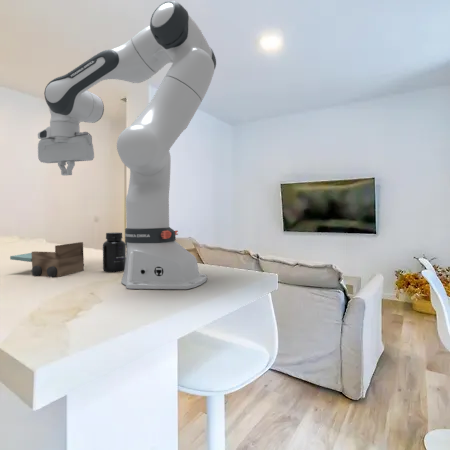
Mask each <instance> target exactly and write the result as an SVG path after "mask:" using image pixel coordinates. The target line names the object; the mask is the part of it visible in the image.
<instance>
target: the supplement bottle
mask: <svg viewBox="0 0 450 450" xmlns="http://www.w3.org/2000/svg"><path fill="white" fill-rule="evenodd" d="M105 239H106V241H104V242H103V243H102V270H103V272H105V273H121V272H124V269H125V261H126V249H127V248H126V244H125V240H122V239H123V232H106V233H105Z"/></svg>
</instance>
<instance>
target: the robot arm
mask: <svg viewBox="0 0 450 450" xmlns="http://www.w3.org/2000/svg"><path fill="white" fill-rule="evenodd" d="M170 63H172V64H171V66H170V67H169V69H168V71H167V72H166V74H165V76H164V78H163V80H162V81H161V82H160V84H159V86H158V88H157V90H156V91H155V93H154V95H153V97H152V99H151V100H150V102H149V103H148V104H147V106H146V107H145V108H144V109H143V111H142V112H141V113H140V114H139V116H137V118H135V120H134V121H133V122H132V123H131V125H130V126H128V127H125V128H124V129H123V130H122V131H121V132H120V133H119V136H118V138H117V142H116V150H117V154H118V156H119V159H120V160H121V162H122V163H123V165H124V166H125V167H126V168H128V169H129V171H130V172H129V173H130V175H129V184H128V190H127V194H126V197H125V208H126V210H125V213H126V215H125V216H126V219H125V220H126V221H125V222H126V228H125V229H124V242H125V244H126V261H125V269H124V271H123V273H122V278H121V281H120V282H121V284H122V285H125V287H126V289H135V290H138V289H139V290H144V289H145V290H146V289H147V290H189V289H194V288H196V287H199V286H201V285H203V284H204V283H206V281H207V280H208V276H207V274H205V273H200V271H199V264H198V259H197V258H196V256H195V255H194V254H192V253H191V252H190V251H189V250H187V249H186V248H185V247H183V246H182V244H180V243H179V242H178V241H176V236H178V235H179V231H178V230H174V229H173V228H172V227H170V207H169V206H170V200H169V199H170V187H171V185H170V184H171V157H172V156H171V153H170V150H171V148H172V147H173V145H174V144H175V142H176V140H178V138H180V136H181V134H182V133H183V132H185V130H186V129H187V128H188V126H189V125H190V122H191V121H192V120H193V118H194V116H195V114H196V112H197V110H198V109H199V107H200V105H201V103H202V102H203V100H204V98H205V96H206V94H207V92H208V90H209V88H210V84H211V82H212V79H213V77H214V73H215V70H216V67H217V58H216V56H215V53H214V50H213V48H211V46H210V45H209V42H208V41H207V40H206V38H205V36H204V34H203V32H202V30H201V29H200V27H199V26H198V24H197V23H196V22H195V20H193V18H192V17H191V16H190V15H189V13H188V10H187V9H186V7H185V8H184V6H183V5H182V4H181V3H179V2H178V1H176V0H169V1H168V0H167V1H164V2H162V3H161V4H159V5H158V6H157V8H156V9H155V10H154V12H153V13H152V15H151V17H150V22H149V25H147V26H146V27H144V28H142V29H141V30H140V31H139V32H137V33H136V34H134V35H133V36H132V37H131V38H130V39H129V40H128V41H126V42H124V43H122V44H121V45H119V46H116V47H114V48H111V49H105V50H103V51H100V52H98V53H97V54H95V55H93V56H91V57H90V58H89V59H87V60H86V61H84V62H83V63H81V64H80V65H79V66H77V67H75V68H73V69H72V70H71V71H69V72H68V73H66V74H64V75H61V76H58V77H55V78H54V79H51V81H49V82H48V83H47V84H46V86H45V89H44V93H43V94H44V99H45V102H46V104H47V106H48V109H49V113H50V120H49V126H47V127H46V128H45V129H42V130H41V131H39V132H38V133H37V139H39V141H38V142H37V157H38V160H39V161H40V163H43V164H57V167H59V169H60V175H61V176H72V175H73V169H74V167H75V165H76V162H86V161H87V162H88V161H93V160H94V158H95V150H94V144H93V136H92V135H91V134H90V132H88V131H83V132H81V131H80V123H81V122H84V123H89V124H90V123H91V124H94V123H97V122H98V121H100V120H101V118H102V117H103V115H104V111H105V106H104V101H103V99H102V98H101V97H100V96H98V94H96V93H93V92H91V91H89V90H90V89H91V88H93V87H94V86H95V85H97V84H98V83H100V82H102V81H105V80H106V81H107V80H117V81H118V80H119V81H125V82H128V83H132V84H133V83H135V84H140V83H143V82H145V81H148V80H149V79H151V78H152V77H154V75H156V74H157V73H158V72H159V71H161V70H162V69H163V68H164V67H165V66H166V65H168V64H170ZM66 165H67V166H66Z"/></svg>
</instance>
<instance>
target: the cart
mask: <svg viewBox="0 0 450 450" xmlns="http://www.w3.org/2000/svg"><path fill="white" fill-rule="evenodd" d="M31 253H32V262H31V274H32V276H34V277H50V278H60V277H64V276H68V275H71V274H76V273H80V272H83V271H84V270H85V262H84V261H85V260H84V258H85V257H84V242H83V241H79V242H73V243H65V244H57V245H54V251H36V250H35V251H31Z"/></svg>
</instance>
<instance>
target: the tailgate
mask: <svg viewBox="0 0 450 450" xmlns="http://www.w3.org/2000/svg"><path fill="white" fill-rule="evenodd" d="M9 259H10V260H11V261H12V260H13V261H21V262H28V263H29V262H30V263H32V252H29V253H24V254H16V255H15V254H14V255H10V257H9Z"/></svg>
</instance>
